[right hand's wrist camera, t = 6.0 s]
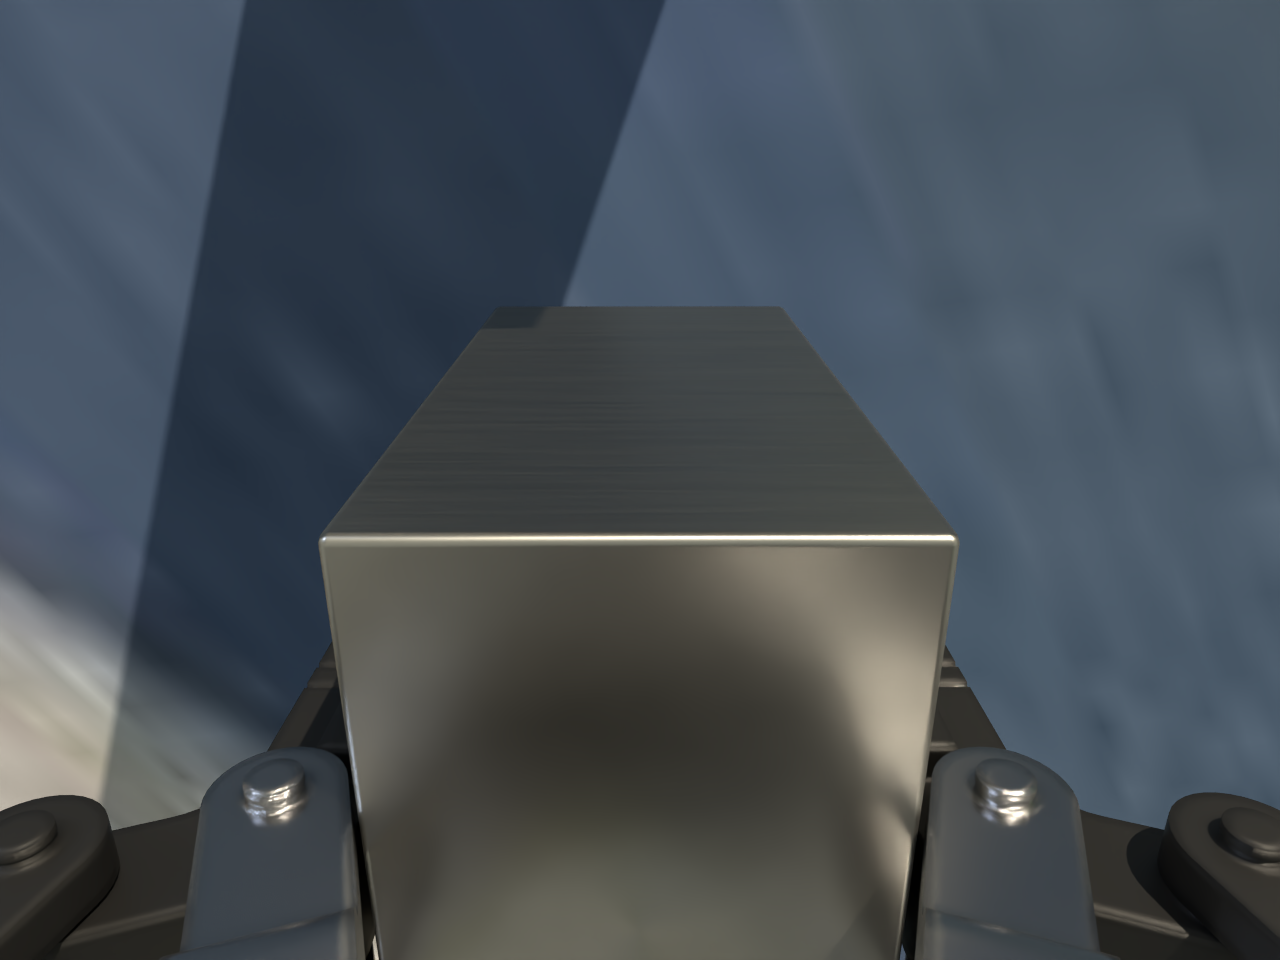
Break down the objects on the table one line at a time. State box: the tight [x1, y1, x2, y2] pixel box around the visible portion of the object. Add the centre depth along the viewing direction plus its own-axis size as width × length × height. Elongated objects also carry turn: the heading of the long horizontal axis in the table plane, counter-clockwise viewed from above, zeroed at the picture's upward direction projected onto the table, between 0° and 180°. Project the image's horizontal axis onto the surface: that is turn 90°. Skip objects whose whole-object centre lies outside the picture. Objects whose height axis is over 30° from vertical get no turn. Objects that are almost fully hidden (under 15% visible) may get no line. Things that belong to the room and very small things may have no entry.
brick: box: [318, 307, 960, 960], centre depth 12 cm, size 5×8×9 cm, turn 0°
